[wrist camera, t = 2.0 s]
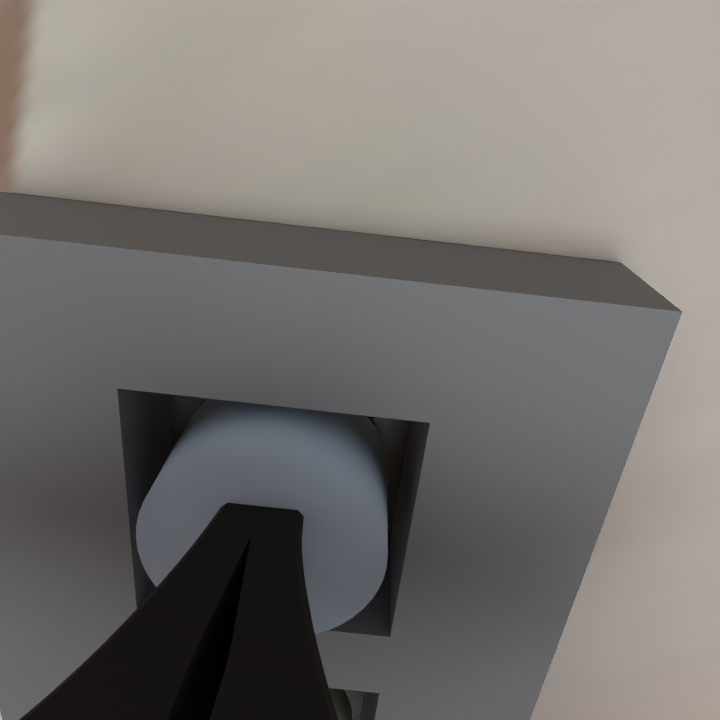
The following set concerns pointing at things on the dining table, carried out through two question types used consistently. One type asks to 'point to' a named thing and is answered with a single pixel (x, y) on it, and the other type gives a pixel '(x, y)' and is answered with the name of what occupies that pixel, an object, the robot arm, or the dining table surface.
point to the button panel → (322, 393)
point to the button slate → (279, 495)
